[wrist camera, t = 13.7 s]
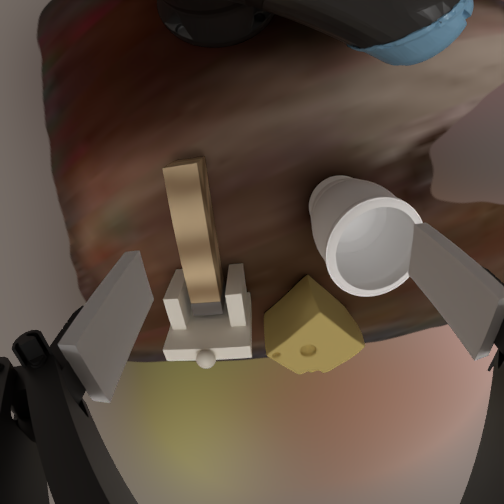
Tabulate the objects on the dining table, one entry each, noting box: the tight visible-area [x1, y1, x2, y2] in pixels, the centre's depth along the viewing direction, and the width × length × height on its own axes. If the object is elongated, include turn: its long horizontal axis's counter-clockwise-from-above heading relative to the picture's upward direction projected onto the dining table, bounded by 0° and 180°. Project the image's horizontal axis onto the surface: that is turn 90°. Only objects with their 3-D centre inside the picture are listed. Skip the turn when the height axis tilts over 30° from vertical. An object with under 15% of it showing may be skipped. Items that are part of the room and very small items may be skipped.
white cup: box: [309, 175, 422, 297], centre depth 33 cm, size 11×10×15 cm
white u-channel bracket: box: [163, 263, 252, 368], centre depth 39 cm, size 7×11×14 cm, turn 96°
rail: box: [162, 156, 226, 316], centre depth 39 cm, size 20×4×6 cm, turn 6°
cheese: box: [264, 275, 365, 374], centre depth 43 cm, size 10×11×10 cm
